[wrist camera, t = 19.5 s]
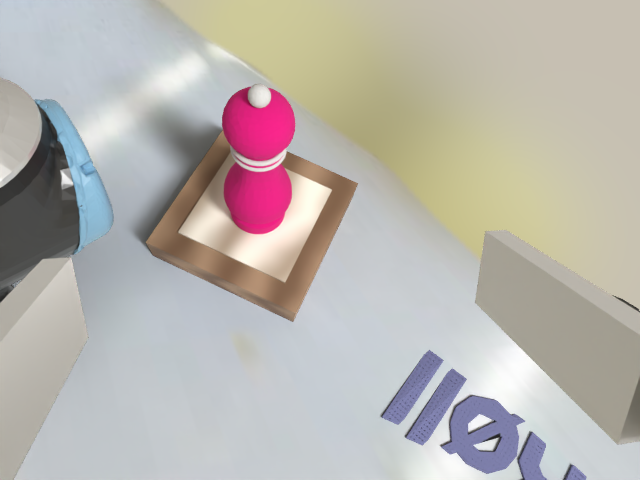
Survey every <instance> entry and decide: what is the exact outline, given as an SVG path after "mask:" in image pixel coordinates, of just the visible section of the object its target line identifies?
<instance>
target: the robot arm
mask: <svg viewBox="0 0 640 480" xmlns="http://www.w3.org/2000/svg"><path fill="white" fill-rule="evenodd" d="M113 219H114V216H113V210H112V206H111V203H110V200H109V197H108V195H107V192H106V190H105V187H104V185H103V182H102V180H101V178H100V176H99V174H98V172H97V170H96V169H95V167H94V166H93V162H92V160H91V158H90V156H89V153H88V151H87V149H86V147H85V145H84V143H83V141H82V139H81V137H80V135H79V134H78V132H77V130H76V128H75V126H74V125H73V123H72V121H71V120H70V118H69V117H68V115H67V114H66V112H65V111H64V109H63V108H62V107H61V105H60V104H59V103H58V102H56V101H54V100H51V99H46V100H33V99H32V98H31V96H30V95H29V94H28V93H27V92H25V91H24V90H23V89H22V88H21V87H19V86H18V85H16V84H15V83H13V82H11V81H9V80H6V79H3V78H0V480H14V478H15V476H16V474H17V472H18V470H19V468H20V466H21V464H22V463H23V461H24V459H25V457H26V455H27V453H28V451H29V449H30V447H31V445H32V444H33V442H34V440H35V438H36V436H37V434H38V432H39V430H40V428H41V427H42V425H43V423H44V421H45V419H46V417H47V415H48V413H49V411H50V409H51V408H52V406H53V404H54V402H55V400H56V398H57V396H58V394H59V392H60V391H61V389H62V387H63V385H64V383H65V381H66V379H67V377H68V375H69V374H70V372H71V370H72V368H73V366H74V364H75V362H76V360H77V358H78V356H79V355H80V353H81V351H82V349H83V347H84V345H85V343H86V341H87V339H88V338H89V337H88V332H87V328H86V323H85V319H84V314H83V309H82V305H81V300H80V296H79V291H78V286H77V282H76V277H75V273H74V268H73V263H72V259H71V257H68V256H70V255H72V254H76V253H78V252H80V251H81V250H82V249H83V248H84V246H86V245H88V244H90V243H91V242H93V241H95V240H97V239H98V238H100V237H102V236H103V235H105V234H106V233H107V232H108V231H109V230H110V229H111V226H112V224H113ZM66 257H68V258H66ZM23 278H24V279H23ZM21 279H23V280H22V281H21V282H20V283H19V284H18V285H17V286H16V287H15V288H14V287H13V286H11V284H13V283H15V282H17V281H19V280H21ZM475 303H476V304H477V305H478V306H479V307H480V308H481V309H482V310H483V311H484V312H485V313H486V314H487V315H488V316H489V317H490V318H491V319H492V320H493V321H494V322H495V323H496V324H497V325H498V326H499V327H500V328H501V329H502V330H503V331H504V332H505V333H506V334H507V335H508V336H509V337H510V338H511V339H512V340H513V341H514V342H515V343H516V344H517V345H518V346H519V347H520V348H521V349H522V350H523V351H524V352H525V353H526V354H527V355H528V356H529V357H530V358H531V359H532V360H533V361H534V362H535V363H536V364H537V365H538V366H539V367H540V368H541V369H542V370H543V371H544V372H545V373H546V374H547V375H548V376H549V377H550V378H551V379H552V380H553V381H554V382H555V383H556V384H557V385H558V386H559V387H560V388H561V389H562V390H563V391H564V392H565V393H566V394H567V395H568V396H569V397H570V398H571V399H572V400H573V401H574V402H575V403H576V404H577V405H578V406H579V407H580V408H581V409H582V410H583V411H584V412H585V413H586V414H587V415H588V416H589V417H590V418H591V419H592V420H593V421H594V422H595V423H596V424H597V425H598V426H599V427H600V428H601V429H602V430H603V431H604V432H605V433H606V434H607V435H608V436H609V437H610V438H611V439H612V440H613V441H614V442H615V443H616V444H617V445H619V444H625V443H632V442H638V441H640V311H639V309H638V308H636V307H634V306H633V305H631V304H629V303H628V302H626V301H625V300H623V299H621V298H618V297H616V296H613V295H610V294H609V293H607V292H605V291H604V290H603V289H601V288H599V287H598V286H596V285H594V284H593V283H591V282H590V281H588V280H586V279H584V278H583V277H581V276H580V275H578V274H577V273H575V272H573V271H572V270H570V269H568V268H567V267H565V266H563V265H562V264H560V263H559V262H557V261H555V260H554V259H552V258H551V257H549V256H547V255H546V254H544V253H542V252H541V251H539V250H538V249H536V248H534V247H533V246H531V245H530V244H528V243H526V242H525V241H523V240H521V239H520V238H518V237H517V236H515V235H513V234H512V233H510V232H508V231H506V230H499V231H486V232H485V238H484V246H483V252H482V258H481V265H480V272H479V279H478V285H477V292H476V299H475Z"/></svg>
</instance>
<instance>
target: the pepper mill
mask: <svg viewBox="0 0 640 480" xmlns="http://www.w3.org/2000/svg"><path fill="white" fill-rule="evenodd" d="M222 127H223V131H224V136H225V137H226V139H227V141H228V143H229V144H230V150H231V154H232V156H233V158H234V160H235V161H236V162H235V163H234V165H233V166H232V167H231V168H230V170H229V171H228V174H227V176H226V178H225V182H224V200H225V203H226V205H227V207H228V209H229V210H230V213H231V217H232V219H233V221H234V223H235V224H236V225H237V226H238V227H239V228H240V229H241V230H243V231H245V232H248V233H251V234H265V233H269V232H271V231H273V230H275V229H276V228H277V227H278V226H279V225H280V224H281V223H282V221H283V219H284V216H285V212H286V210H287V209H288V207H289V205H290V203H291V199H292V184H291V180H290V178H289V175H288V173H287V171H286V169H285V168H284V167H283V165H282V164H281V162H282V161H283V160H284V158H285V156H286V152H287V147H288V145H289V144H290V142H291V140H292V139H293V135H294V132H295V117H294V112H293V110H292V108H291V105H290V104H289V102H288V101H287V100H286V98H285V97H284V96H282V95H281V94H280V93H279V92H277V91H275V90H274V89H271V88H267V87H266V86H265V85H262V84H255V85H253V86H252V87H248V88H244V89H242V90H240V91H238V92H236V93H235V94H234V95H233V96H232V97H231V98H230V99H229V100H228V102H227V104H226V106H225V108H224V112H223V116H222Z"/></svg>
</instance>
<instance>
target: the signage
mask: <svg viewBox="0 0 640 480" xmlns="http://www.w3.org/2000/svg"><path fill="white" fill-rule="evenodd" d="M442 362H443V360H442V359H441V358H440V357H438V356H437V355H436V354H434V353H433V352H431V351H430V350H429V351H428V352H427V353H426V354H424V356H423V357H422V359H421V360H420V362H419V363H418V365H417V366H416V367H415V369H414V370H413V372H412V373H411V375H410V376H409V378H408V379H407V381H406V382H405V384H404V385H403V387H402V388H401V389H400V391H399V392H398V394H397V395H396V397H395V398H394V400H393V401H392V403H391V404H390V406H389V407H388V409H387V410H386V411H385V413H384V414H383V416H382V418H384V419H387V420H389V421H391V422H393V423H396V424H399V423H401V422H402V421H403V420H404V419H405V417H406V416H407V414H408V413H409V411H410V410H411V408H412V407H413V405H414V404H415V402H416V401H417V399H418V398H419V396H420V395H421V393H422V392H423V390H424V389H425V387H426V386H427V384H428V383H429V381H430V380H431V378H432V377H433V375H434V374H435V372H436V371H437V369H438V368H439V366H440V365H441V363H442ZM466 380H467V379H466V378H465V377H463V376H462V375H461V374H459V373H458V372H456V371H455V370H454V369H451V370H450V371H449V372H448V373H447V374H446V376H445V377H444V379H443V381H442V382H441V384H440V385H439V387H438V388H437V390H436V391H435V393H434V394H433V396H432V398H431V399H430V401H429V402H428V404H427V405H426V407H425V408H424V410H423V412H422V413H421V415H420V416H419V418H418V419H417V421H416V422H415V424H414V426H413V427H412V429H411V430H410V432H409V433H408V435H407V436H406V438H407V439H409V440H412V441H414V442H416V443H418V444H421V445H423V444H424V443H425V442H426V441H427V440H428V439H429V438H430V436H431V435H432V433H433V432H434V430H435V428H436V427H437V425H438V424H439V422H440V421H441V419H442V417H443V416H444V414H445V413H446V411H447V409H448V408H449V406H450V405H451V403H452V402H453V400H454V398H455V397H456V395H457V394H458V392H459V391H460V389H461V387H462V386H463V384H464V383H465V381H466ZM478 414H482V415H484V416H486V417H488V418H490V419H492V420H494V421H495V422H493V423H491V424H489V425H487V426H485V427H483V428H481V429H479V430H477V431H475V432H472V433H470V434H468V423H469V422H470V421H472V420H473V419H474V418H475V417H476V416H477V415H478ZM522 422H525V421H524V420H523V419H522V418H520V417H519V416H517V415H516V414H513V415H510V414H509V413H508V412H507V411H506V410H505V408H504V407H503V406H502V405H501V404H500V403H499V402H498V401H496V400H492V399H487V398H482V397H477V396H471V397H468V398H467V399H465V400H464V401H463V402H461V403H460V404H459V405H458V406H457V407H456V408H455V409H454V412H453V414H452V417H451V421H450V436H451V441H452V442H450V443H448V444H446V445H443V446H441V447H442V448H443V449H444V450H445V451H446V452H448V453H449V454H453V453H456V452H457V453H458V455H459V456H460V457H461V458H462V459H463V461H464V462H465V463H466V464H468V465H470V466H472V467H474V468H476V469H477V470H480V471H482V472H484V473H486V474H489V473H492V472H496V471H499V470H503V469H506V468H507V467H508V466H509V464H510V463H511V462H512V461H513V460H514V458H515V457H516V456H517V449H518V441H519V435H518V431H517V427H516V425H518V424H520V423H522ZM498 437H501V440H500V443H499V445H498V447H497V449H496V450H495V451H494V452H480V451H479V450H478V449H476V448H475V447H474V446H473V445H474V444H478V443H481V442H485V441H488V440H492V439H495V438H498ZM545 448H546V444H545V443H544V442H543V441H542V440H541V439H540V438H539V437H537V436H536V435H535V434H534V433H533V432H531V434H530V436H529V438H528V441H527V443H526V445H525V447H524V449H523V451H522V454H521V456H520V458H519V461H518V463H519V467H520V470H521V473H522V476H523V478H524V480H547V479H546V478H545V477H544V476H543V475H542V473H541V470H540V467H539V464H540V461H541V459H542V456H543V453H544V451H545ZM565 480H586V476H585V475H584V474H583V473H582V472H581V471H580V470H578V469H577V468H576V467H575V466H574V465H571V467H570V470H569V472H568V474H567V476H566V478H565Z"/></svg>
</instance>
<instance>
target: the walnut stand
mask: <svg viewBox="0 0 640 480" xmlns="http://www.w3.org/2000/svg"><path fill="white" fill-rule="evenodd" d="M235 162H236V161H235V160H234V158H233V156H232V154H231V150H230V144H229V143H228V141H227V139H226V137H225V136H224V131H223V130H222V132H221V133H220V134H219V136H218V137H217V139H216V140H215V142H214V143H213V145H212V146H211V148H210V149H209V151H208V152H207V153H206V155H205V156H204V158H203V159H202V161H201V162H200V164H199V165H198V167H197V168H196V170H195V171H194V172H193V174H192V175H191V177H190V178H189V180H188V181H187V183H186V184H185V186H184V187H183V188H182V190H181V191H180V193H179V194H178V196H177V197H176V199H175V200H174V202H173V203H172V205H171V206H170V207H169V209H168V210H167V212H166V213H165V215H164V216H163V218H162V219H161V221H160V222H159V223H158V225H157V226H156V228H155V229H154V231H153V232H152V234H151V235H150V237H149V238H148V240H147V241H146V244H147V245H148V247H149V249H150V251H151V253H152V254H153V256H155V257H157V258H159V259H161V260H164V261H166V262H168V263H170V264H172V265H174V266H176V267H178V268H180V269H182V270H185V271H187V272H189V273H191V274H193V275H195V276H197V277H199V278H201V279H204V280H206V281H208V282H210V283H212V284H214V285H216V286H218V287H220V288H223V289H225V290H227V291H229V292H231V293H233V294H235V295H237V296H239V297H241V298H244V299H246V300H248V301H250V302H252V303H254V304H256V305H258V306H260V307H263V308H265V309H267V310H269V311H271V312H273V313H275V314H277V315H279V316H282V317H284V318H286V319H288V320H290V321H292V322H293V321H294V319H295V317H296V315H297V313H298V310H299V308H300V306H301V304H302V302H303V300H304V298H305V296H306V294H307V292H308V290H309V287H310V285H311V283H312V281H313V279H314V277H315V275H316V273H317V271H318V269H319V267H320V264H321V262H322V260H323V258H324V256H325V254H326V252H327V250H328V248H329V246H330V243H331V241H332V239H333V237H334V235H335V233H336V231H337V229H338V227H339V225H340V223H341V220H342V218H343V216H344V214H345V212H346V210H347V208H348V206H349V204H350V202H351V200H352V197H353V195H354V192H355V190H356V187H357V185H358V183H356V182H353V181H351V180H349V179H347V178H345V177H342V176H340V175H338V174H336V173H334V172H331V171H329V170H327V169H325V168H323V167H320V166H318V165H316V164H314V163H312V162H309V161H307V160H305V159H303V158H301V157H298V156H296V155H294V154H292V153H290V152H286V156H285V158H284V160H283V161H282V162H281V164H282V165H283V167H284V168H285V169H286V171H287V173H288V175H289V178H290V180H291V184H292V199H291V203H290V205H289V207H288V209H287V210H286V212H285V216H284V219H283V221H282V223H281V224H280V225H279V226H278V227H277V228H276V229H275V230H273V231H271V232H269V233H265V234H251V233H248V232H245V231H243V230H241V229H240V228H239V227H238V226H237V225H236V224H235V223H234V221H233V219H232V217H231V213H230V210H229V209H228V207H227V205H226V203H225V200H224V182H225V178H226V176H227V174H228V171H229V170H230V168H231V167H232V166H233V165H234V163H235Z"/></svg>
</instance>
